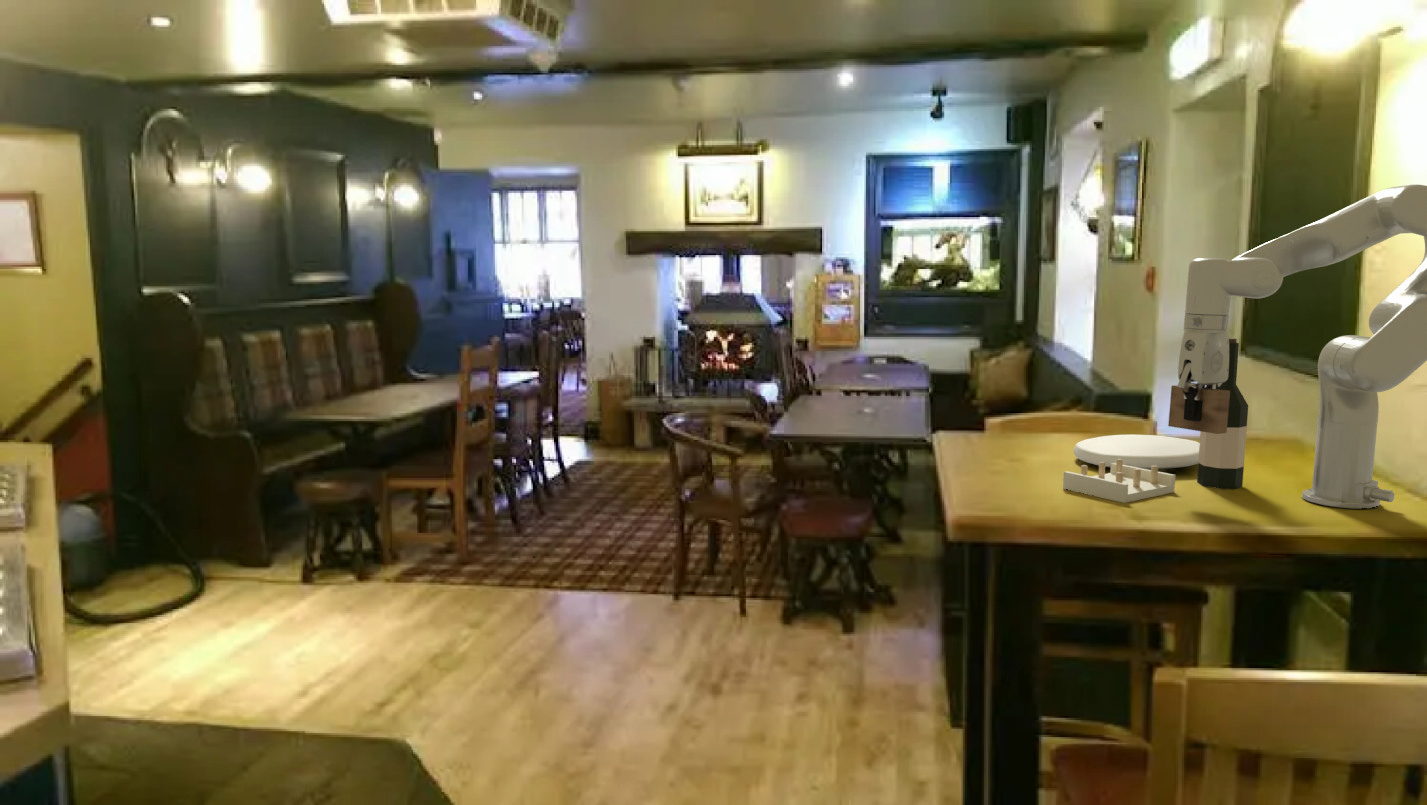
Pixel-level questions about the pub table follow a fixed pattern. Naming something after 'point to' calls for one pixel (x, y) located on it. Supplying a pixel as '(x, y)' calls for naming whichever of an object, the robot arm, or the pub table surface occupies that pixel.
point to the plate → (1139, 451)
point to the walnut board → (1212, 410)
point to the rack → (1120, 482)
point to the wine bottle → (1226, 437)
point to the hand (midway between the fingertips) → (1197, 418)
